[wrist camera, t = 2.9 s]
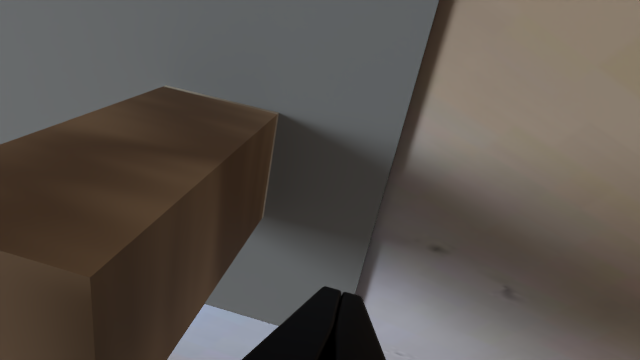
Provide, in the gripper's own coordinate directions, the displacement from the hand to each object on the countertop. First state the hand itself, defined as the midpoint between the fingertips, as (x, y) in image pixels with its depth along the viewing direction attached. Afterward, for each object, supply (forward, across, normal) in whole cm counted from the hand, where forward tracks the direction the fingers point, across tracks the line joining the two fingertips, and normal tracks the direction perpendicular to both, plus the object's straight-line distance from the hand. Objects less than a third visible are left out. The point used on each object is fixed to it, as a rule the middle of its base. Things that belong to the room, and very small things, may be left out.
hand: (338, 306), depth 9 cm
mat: (+6, +8, 0) cm, 11 cm away
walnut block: (+6, +5, 0) cm, 8 cm away
